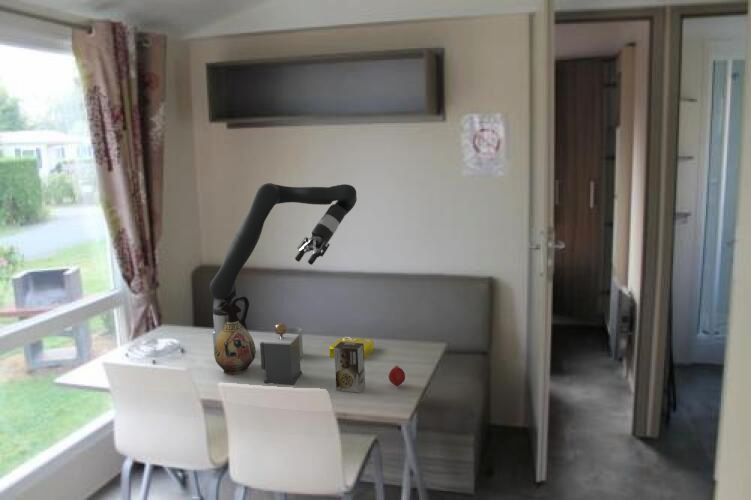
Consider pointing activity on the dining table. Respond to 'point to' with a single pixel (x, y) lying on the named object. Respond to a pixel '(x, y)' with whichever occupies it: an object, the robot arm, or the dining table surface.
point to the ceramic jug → (234, 339)
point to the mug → (299, 331)
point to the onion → (396, 376)
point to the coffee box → (349, 367)
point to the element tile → (366, 342)
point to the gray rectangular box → (281, 359)
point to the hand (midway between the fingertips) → (303, 261)
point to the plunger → (280, 329)
